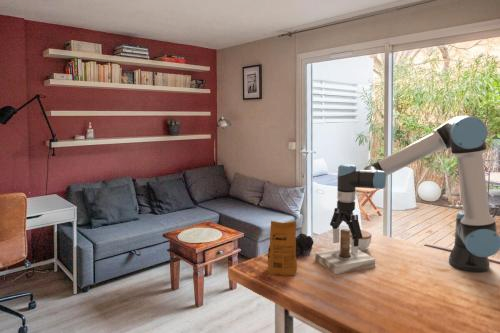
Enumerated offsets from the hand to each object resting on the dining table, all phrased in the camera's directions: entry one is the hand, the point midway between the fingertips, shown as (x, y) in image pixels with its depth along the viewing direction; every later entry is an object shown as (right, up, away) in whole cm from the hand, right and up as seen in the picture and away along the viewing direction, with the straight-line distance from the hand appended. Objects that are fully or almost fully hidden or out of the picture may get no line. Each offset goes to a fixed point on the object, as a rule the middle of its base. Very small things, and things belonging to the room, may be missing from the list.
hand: (344, 247), depth 163 cm
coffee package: (-28, -9, -6) cm, 30 cm away
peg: (0, -7, +1) cm, 7 cm away
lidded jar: (+12, -5, +18) cm, 22 cm away
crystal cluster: (-19, -6, +14) cm, 24 cm away
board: (0, -7, +1) cm, 7 cm away
